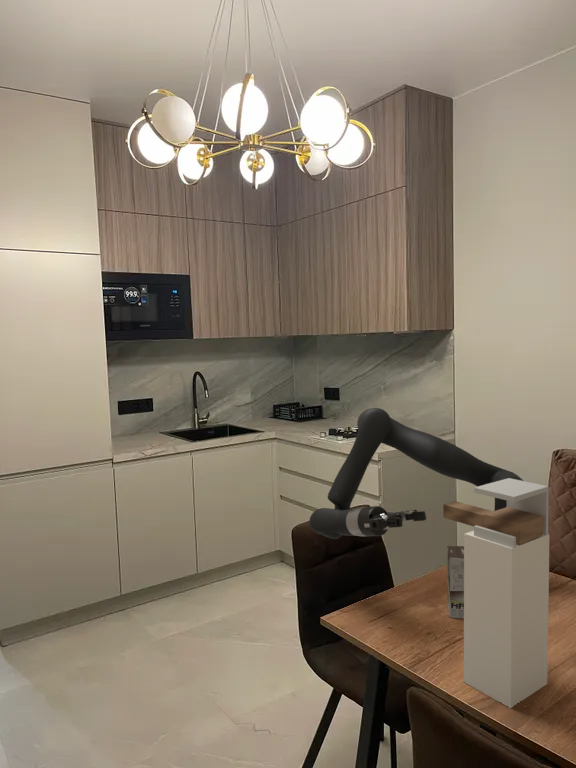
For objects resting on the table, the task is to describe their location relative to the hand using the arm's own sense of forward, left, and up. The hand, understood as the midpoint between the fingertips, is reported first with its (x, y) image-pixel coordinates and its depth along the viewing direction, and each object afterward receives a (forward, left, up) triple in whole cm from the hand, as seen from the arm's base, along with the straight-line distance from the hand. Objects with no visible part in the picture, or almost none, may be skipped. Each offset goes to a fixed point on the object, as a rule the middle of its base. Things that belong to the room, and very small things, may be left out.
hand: (413, 518), depth 141 cm
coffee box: (-18, -6, -29) cm, 35 cm away
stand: (-7, +25, -29) cm, 38 cm away
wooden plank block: (-6, +20, +3) cm, 21 cm away
